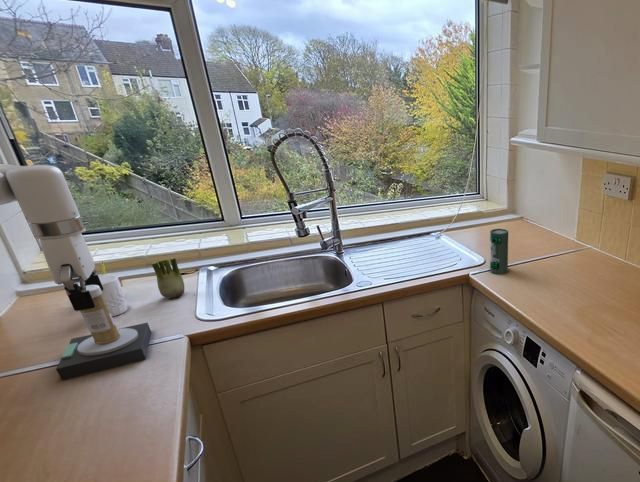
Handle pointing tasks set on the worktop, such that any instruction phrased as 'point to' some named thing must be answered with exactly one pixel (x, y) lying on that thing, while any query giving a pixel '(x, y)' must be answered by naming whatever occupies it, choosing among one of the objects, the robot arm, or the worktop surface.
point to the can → (499, 251)
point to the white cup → (112, 294)
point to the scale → (104, 352)
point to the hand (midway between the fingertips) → (90, 300)
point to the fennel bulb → (169, 278)
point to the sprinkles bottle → (100, 318)
